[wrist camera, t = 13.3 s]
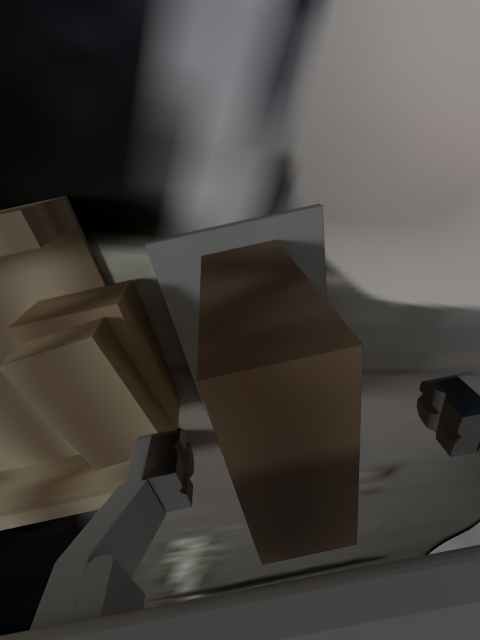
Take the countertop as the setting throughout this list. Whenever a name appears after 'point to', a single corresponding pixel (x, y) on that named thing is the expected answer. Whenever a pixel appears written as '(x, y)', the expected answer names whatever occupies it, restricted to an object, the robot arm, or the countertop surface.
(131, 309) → the offcut lower
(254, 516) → the dark brown wood block
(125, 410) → the offcut upper
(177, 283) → the mat
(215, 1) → the countertop surface
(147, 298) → the countertop surface
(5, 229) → the tray
